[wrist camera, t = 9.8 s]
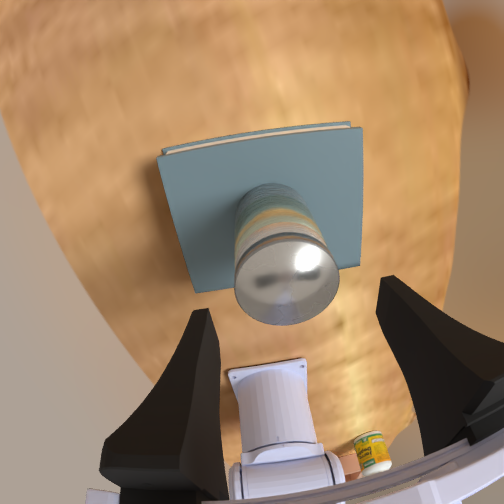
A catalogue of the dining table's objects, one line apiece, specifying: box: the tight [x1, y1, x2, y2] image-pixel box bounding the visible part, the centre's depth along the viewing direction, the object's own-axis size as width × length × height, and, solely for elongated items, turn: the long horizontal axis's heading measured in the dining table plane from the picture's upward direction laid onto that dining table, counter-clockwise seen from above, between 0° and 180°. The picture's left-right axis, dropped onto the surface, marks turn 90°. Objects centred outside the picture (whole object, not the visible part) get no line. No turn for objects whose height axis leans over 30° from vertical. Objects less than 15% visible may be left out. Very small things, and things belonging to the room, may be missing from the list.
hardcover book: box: [156, 121, 363, 293], centre depth 21 cm, size 10×12×2 cm
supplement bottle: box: [354, 431, 392, 477], centre depth 43 cm, size 5×5×10 cm
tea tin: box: [234, 183, 340, 326], centre depth 17 cm, size 5×5×7 cm
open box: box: [339, 453, 363, 482], centre depth 55 cm, size 17×17×4 cm
